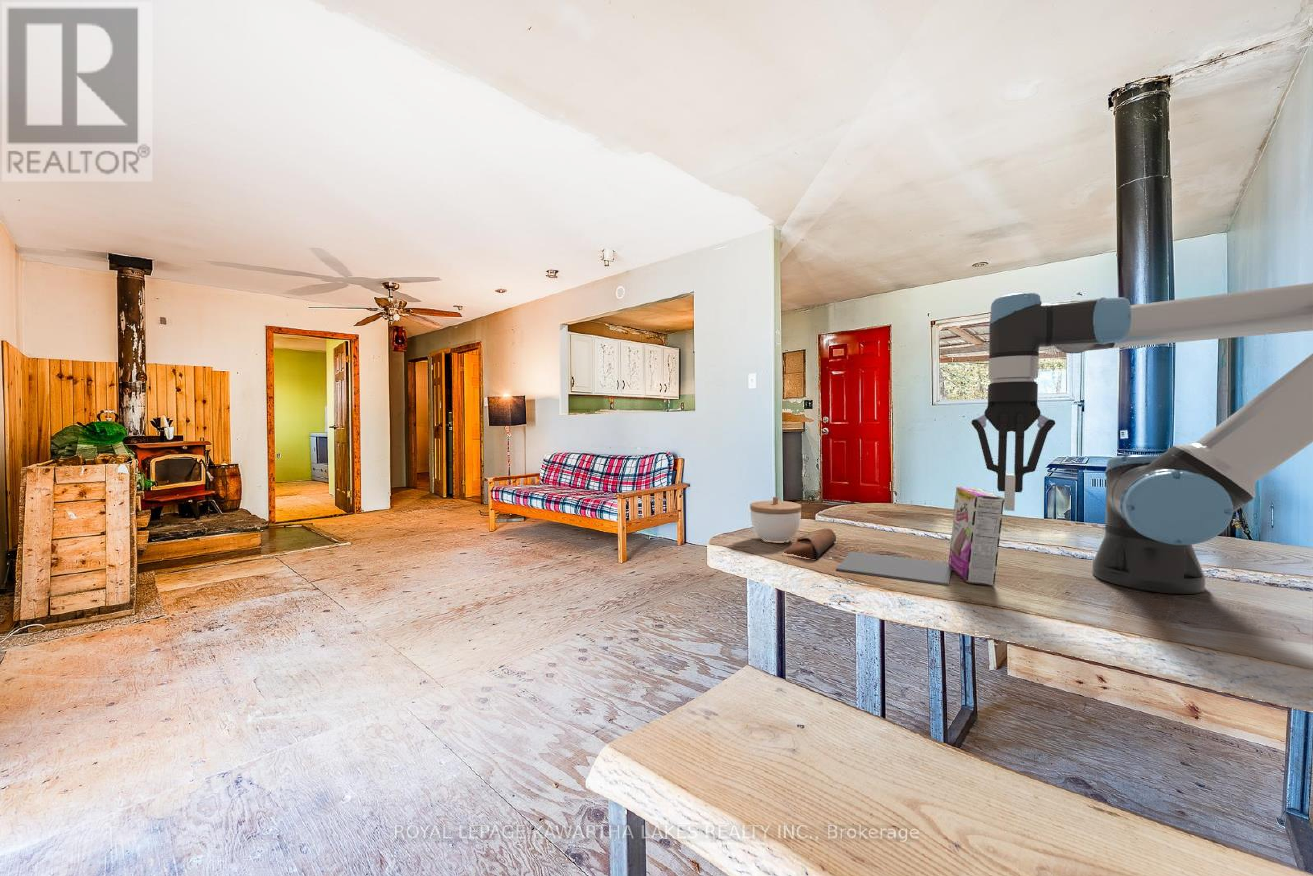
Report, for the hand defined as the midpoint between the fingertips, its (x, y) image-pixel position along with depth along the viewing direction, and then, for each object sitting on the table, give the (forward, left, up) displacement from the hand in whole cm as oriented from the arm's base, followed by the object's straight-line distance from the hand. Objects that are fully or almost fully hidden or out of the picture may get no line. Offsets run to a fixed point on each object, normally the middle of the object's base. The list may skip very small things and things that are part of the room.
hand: (1009, 509), depth 96 cm
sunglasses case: (+38, -7, -14) cm, 42 cm away
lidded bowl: (+48, -11, -14) cm, 52 cm away
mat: (+19, 0, -14) cm, 24 cm away
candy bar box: (+6, 0, -14) cm, 15 cm away
